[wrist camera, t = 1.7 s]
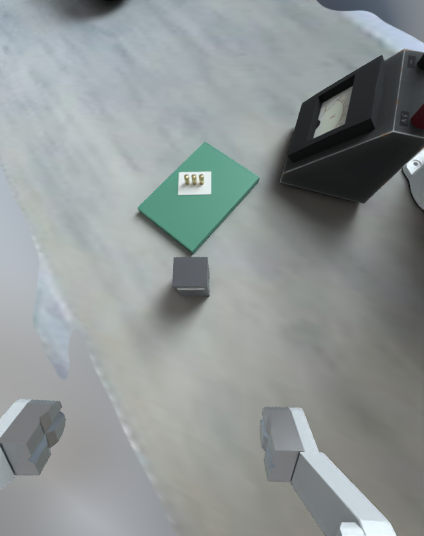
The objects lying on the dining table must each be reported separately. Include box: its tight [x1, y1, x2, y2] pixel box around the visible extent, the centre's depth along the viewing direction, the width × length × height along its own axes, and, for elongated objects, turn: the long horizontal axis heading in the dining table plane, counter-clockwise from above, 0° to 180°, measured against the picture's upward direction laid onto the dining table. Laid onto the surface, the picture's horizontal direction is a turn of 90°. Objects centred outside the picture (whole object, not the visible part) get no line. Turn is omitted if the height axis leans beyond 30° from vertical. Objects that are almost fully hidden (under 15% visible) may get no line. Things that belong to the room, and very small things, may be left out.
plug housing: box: [172, 257, 209, 296], centre depth 38 cm, size 5×4×8 cm
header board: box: [138, 142, 259, 254], centre depth 47 cm, size 20×14×2 cm
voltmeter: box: [280, 49, 424, 203], centre depth 39 cm, size 16×16×20 cm
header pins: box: [184, 174, 204, 185], centre depth 46 cm, size 1×4×2 cm, turn 90°
